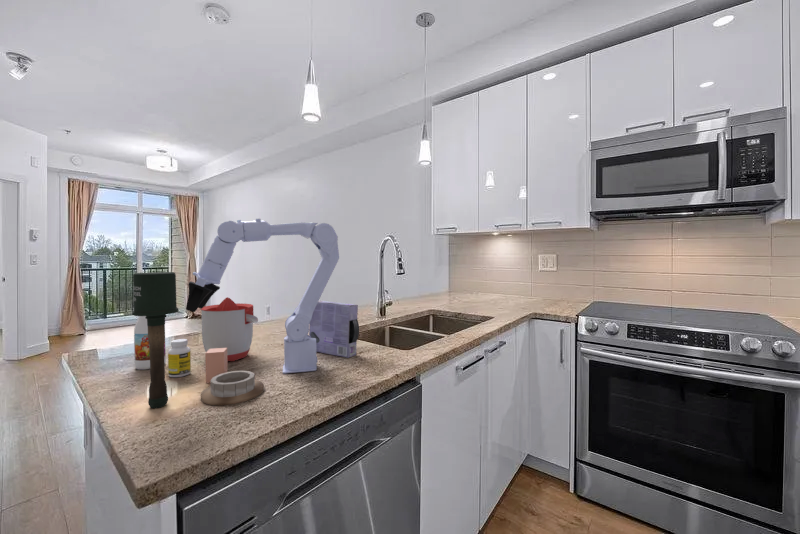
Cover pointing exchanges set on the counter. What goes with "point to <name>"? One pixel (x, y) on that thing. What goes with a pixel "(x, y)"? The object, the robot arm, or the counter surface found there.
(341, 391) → the counter surface
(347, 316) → the cake pan box
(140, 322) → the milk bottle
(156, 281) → the potato masher grenade
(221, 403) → the collar
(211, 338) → the citrus juicer
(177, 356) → the supplement bottle
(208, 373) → the peg
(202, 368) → the counter surface
